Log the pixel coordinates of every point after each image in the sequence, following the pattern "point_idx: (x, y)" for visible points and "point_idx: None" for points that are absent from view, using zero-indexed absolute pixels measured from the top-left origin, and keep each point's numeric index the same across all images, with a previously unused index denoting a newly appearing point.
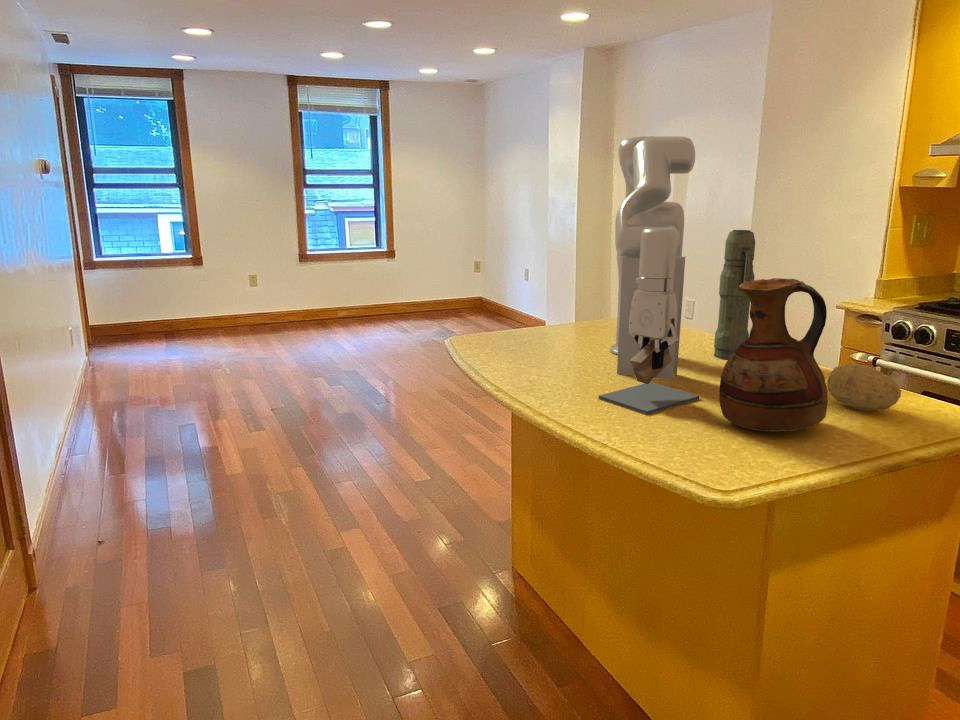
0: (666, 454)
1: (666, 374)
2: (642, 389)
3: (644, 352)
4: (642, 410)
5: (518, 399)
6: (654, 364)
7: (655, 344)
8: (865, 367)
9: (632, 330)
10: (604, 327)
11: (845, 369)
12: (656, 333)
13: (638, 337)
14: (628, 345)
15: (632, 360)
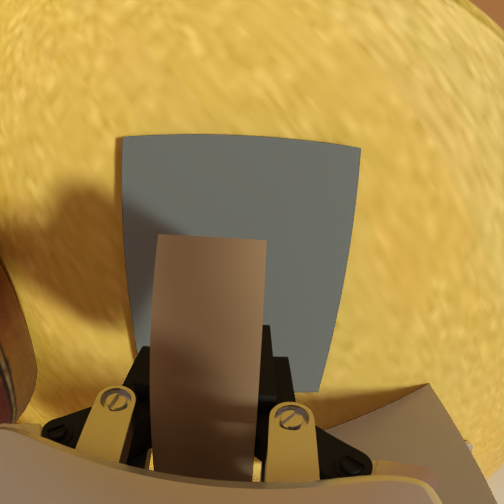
0: (2, 21)
1: None
2: (293, 324)
3: (207, 364)
4: (142, 136)
5: (469, 14)
6: None
7: (119, 431)
8: None
9: (385, 502)
10: (486, 471)
11: None
12: (6, 468)
13: (331, 474)
14: (436, 453)
15: (244, 243)
